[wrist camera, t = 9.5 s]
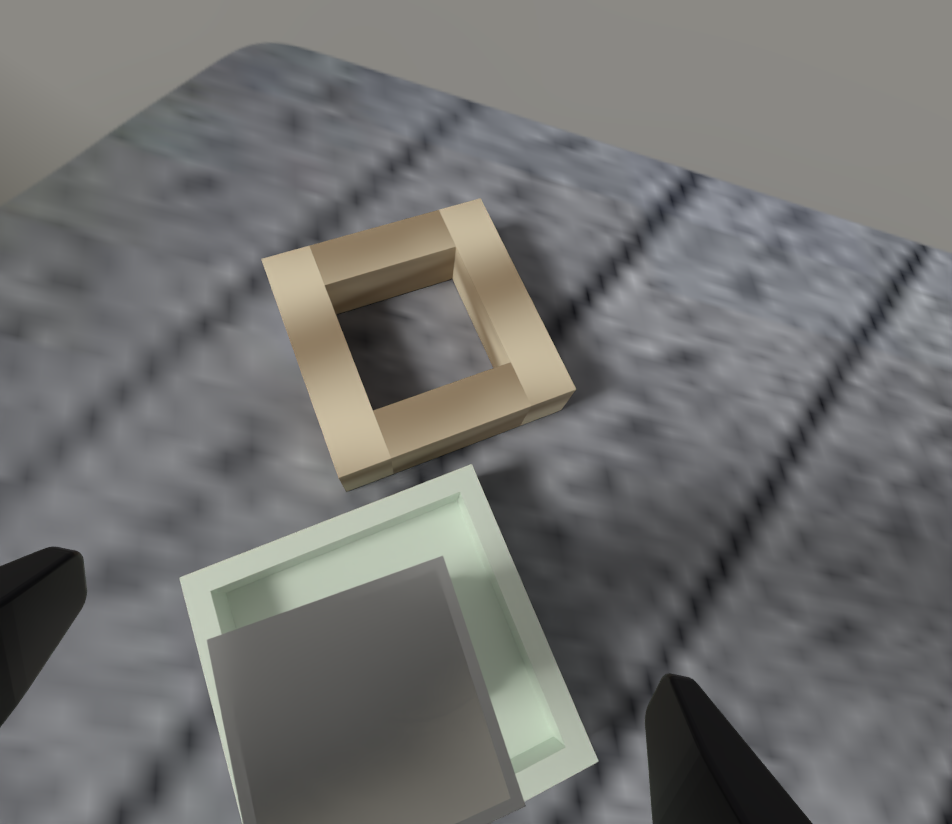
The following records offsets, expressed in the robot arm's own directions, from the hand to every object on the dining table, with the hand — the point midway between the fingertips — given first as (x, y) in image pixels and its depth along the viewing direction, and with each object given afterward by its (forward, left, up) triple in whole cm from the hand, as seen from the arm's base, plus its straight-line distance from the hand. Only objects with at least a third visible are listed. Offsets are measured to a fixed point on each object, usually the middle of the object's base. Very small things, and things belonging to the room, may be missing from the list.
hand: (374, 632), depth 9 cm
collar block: (+10, -5, -14) cm, 18 cm away
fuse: (-1, +1, -13) cm, 13 cm away
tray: (-1, +1, -14) cm, 14 cm away
